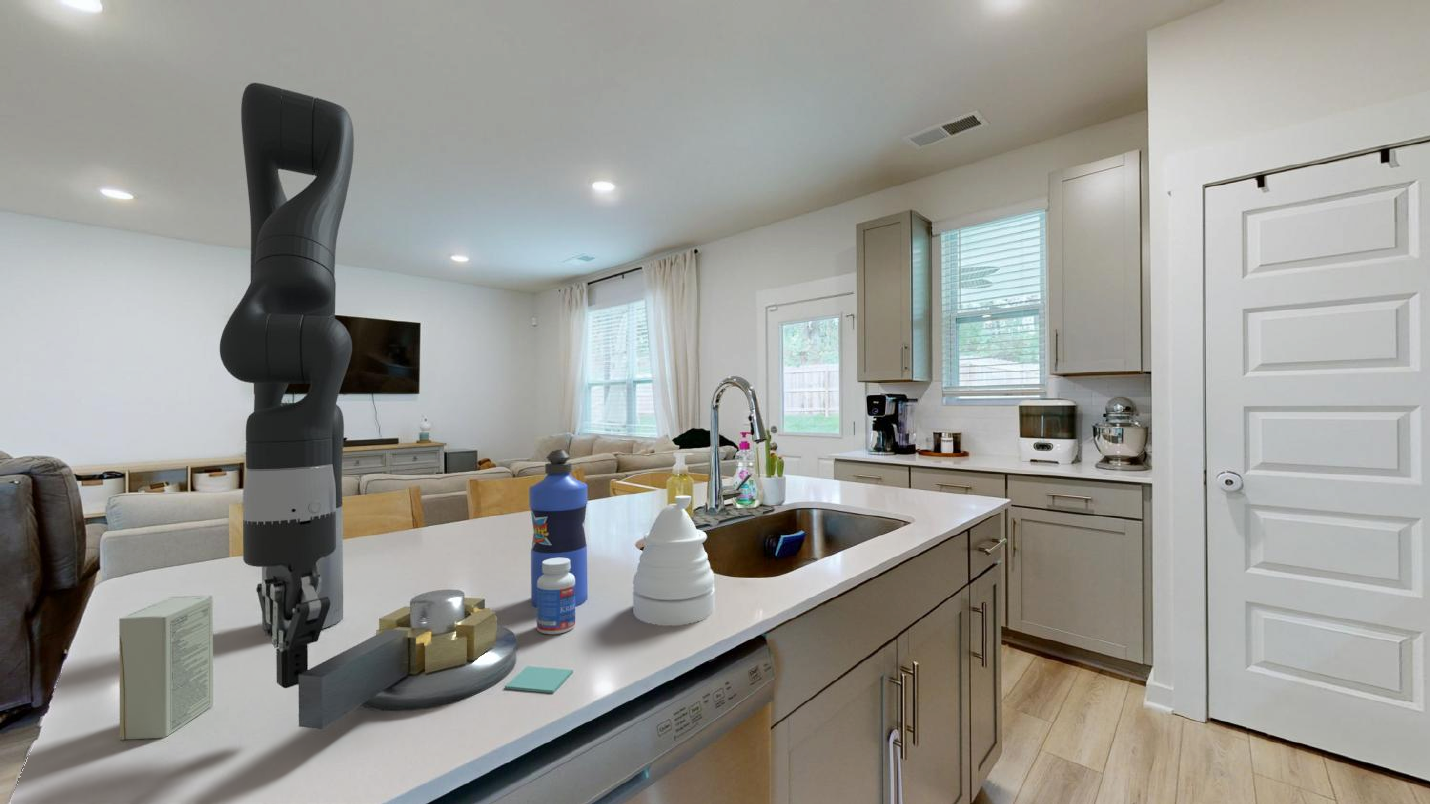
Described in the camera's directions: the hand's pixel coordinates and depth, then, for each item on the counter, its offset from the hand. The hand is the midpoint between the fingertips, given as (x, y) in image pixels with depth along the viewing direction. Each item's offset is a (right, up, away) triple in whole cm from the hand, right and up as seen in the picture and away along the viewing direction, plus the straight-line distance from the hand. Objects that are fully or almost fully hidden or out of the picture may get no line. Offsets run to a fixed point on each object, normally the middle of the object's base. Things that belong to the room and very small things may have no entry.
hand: (292, 683), depth 57 cm
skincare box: (-14, -5, +1) cm, 15 cm away
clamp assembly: (+8, -2, +7) cm, 10 cm away
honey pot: (+36, -5, +32) cm, 49 cm away
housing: (+9, -5, +12) cm, 16 cm away
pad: (+22, -4, +10) cm, 24 cm away
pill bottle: (+20, -5, +25) cm, 32 cm away
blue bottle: (+17, -5, +37) cm, 41 cm away
